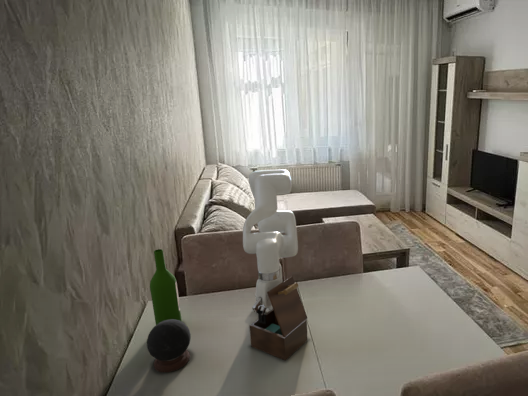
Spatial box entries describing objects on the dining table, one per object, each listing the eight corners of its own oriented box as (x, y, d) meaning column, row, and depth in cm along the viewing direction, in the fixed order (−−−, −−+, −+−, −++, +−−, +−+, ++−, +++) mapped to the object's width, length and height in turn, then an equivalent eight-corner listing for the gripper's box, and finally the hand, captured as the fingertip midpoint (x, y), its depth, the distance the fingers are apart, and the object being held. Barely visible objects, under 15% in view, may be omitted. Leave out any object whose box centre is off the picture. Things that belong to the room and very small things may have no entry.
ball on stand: (147, 358, 132) (141, 320, 128) (188, 343, 140) (183, 307, 136) (154, 380, 122) (147, 340, 118) (197, 363, 129) (192, 325, 125)
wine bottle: (186, 327, 149) (175, 250, 140) (162, 337, 143) (149, 257, 134) (176, 318, 155) (166, 243, 146) (153, 327, 149) (140, 250, 140)
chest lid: (266, 292, 128) (278, 290, 125) (291, 276, 138) (302, 274, 136) (283, 337, 129) (294, 336, 126) (305, 318, 140) (317, 317, 137)
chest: (251, 346, 138) (249, 325, 136) (274, 328, 149) (273, 308, 147) (285, 360, 131) (284, 338, 129) (307, 340, 142) (306, 319, 140)
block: (274, 343, 139) (273, 333, 137) (264, 340, 141) (264, 329, 139) (282, 337, 142) (281, 326, 141) (273, 333, 144) (272, 323, 143)
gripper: (277, 262, 143) (279, 302, 148) (243, 281, 129) (246, 325, 133) (293, 266, 140) (294, 307, 145) (260, 287, 125) (263, 331, 130)
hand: (271, 316), depth 139 cm, fingers open, 9 cm apart
